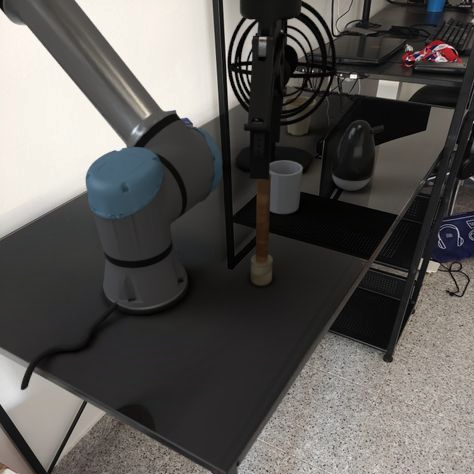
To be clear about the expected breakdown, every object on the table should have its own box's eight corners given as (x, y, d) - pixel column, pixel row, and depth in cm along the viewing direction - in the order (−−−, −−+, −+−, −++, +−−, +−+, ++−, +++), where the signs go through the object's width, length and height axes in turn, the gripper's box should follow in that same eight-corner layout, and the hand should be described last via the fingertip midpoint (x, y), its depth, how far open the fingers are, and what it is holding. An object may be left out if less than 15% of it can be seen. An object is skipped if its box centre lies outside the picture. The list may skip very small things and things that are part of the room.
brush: (258, 288, 80) (261, 183, 65) (246, 277, 82) (246, 174, 68) (275, 280, 81) (282, 176, 67) (263, 270, 83) (266, 167, 69)
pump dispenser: (371, 197, 103) (386, 130, 92) (327, 193, 105) (337, 127, 94) (371, 178, 110) (384, 114, 99) (330, 175, 112) (339, 111, 101)
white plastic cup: (279, 217, 97) (281, 178, 91) (259, 204, 102) (260, 166, 95) (305, 207, 100) (309, 169, 94) (284, 194, 105) (287, 157, 98)
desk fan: (327, 152, 122) (348, -6, 97) (319, 179, 110) (341, 6, 85) (235, 145, 127) (232, -8, 102) (218, 170, 115) (211, 3, 90)
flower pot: (277, 128, 136) (279, 98, 129) (305, 125, 137) (308, 94, 131) (289, 139, 129) (291, 108, 123) (317, 135, 131) (321, 104, 125)
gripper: (294, -11, 41) (281, 198, 57) (310, -37, 58) (296, 129, 74) (218, -11, 42) (225, 194, 58) (255, -37, 59) (253, 127, 75)
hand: (265, 158), depth 66 cm, fingers open, 13 cm apart
